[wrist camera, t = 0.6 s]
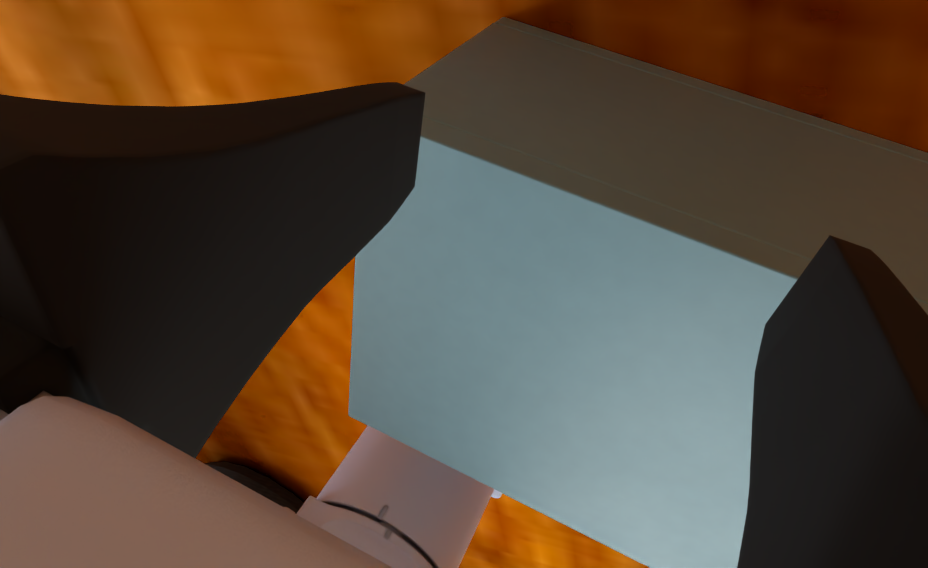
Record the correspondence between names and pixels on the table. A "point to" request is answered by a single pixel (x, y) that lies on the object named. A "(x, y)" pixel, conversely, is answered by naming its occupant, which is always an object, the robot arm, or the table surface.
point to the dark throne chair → (258, 484)
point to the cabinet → (607, 281)
